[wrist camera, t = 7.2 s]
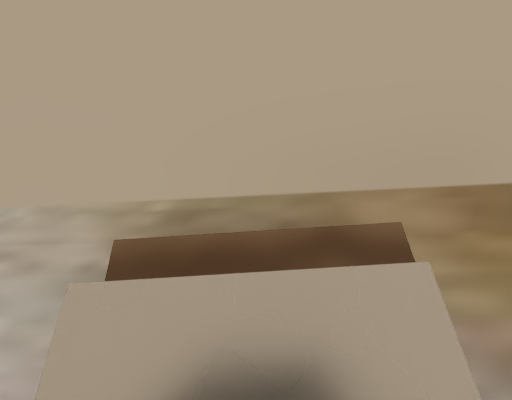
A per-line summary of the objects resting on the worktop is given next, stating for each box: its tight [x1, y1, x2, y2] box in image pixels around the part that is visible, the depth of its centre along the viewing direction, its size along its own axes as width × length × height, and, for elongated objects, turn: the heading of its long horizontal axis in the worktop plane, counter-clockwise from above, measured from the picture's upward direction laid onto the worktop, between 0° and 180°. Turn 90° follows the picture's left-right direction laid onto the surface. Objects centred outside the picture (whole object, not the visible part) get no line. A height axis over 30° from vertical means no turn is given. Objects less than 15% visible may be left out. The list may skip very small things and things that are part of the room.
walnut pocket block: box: [105, 222, 415, 281], centre depth 16 cm, size 15×20×6 cm
